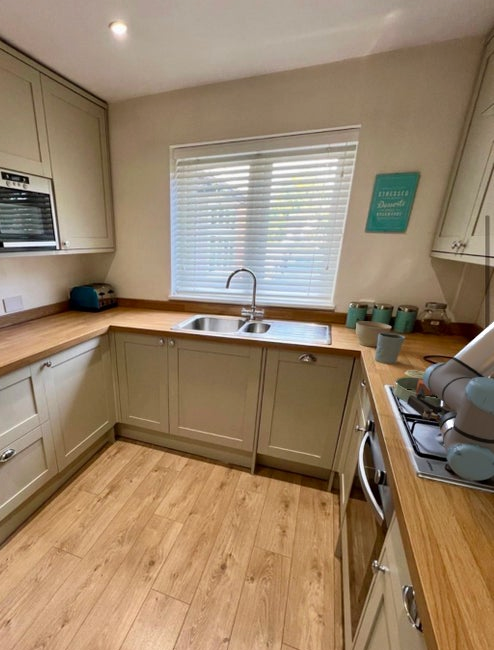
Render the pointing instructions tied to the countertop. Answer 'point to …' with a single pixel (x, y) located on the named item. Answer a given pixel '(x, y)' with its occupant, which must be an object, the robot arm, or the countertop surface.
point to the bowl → (403, 393)
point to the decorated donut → (414, 373)
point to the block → (422, 385)
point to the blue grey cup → (388, 347)
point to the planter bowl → (370, 332)
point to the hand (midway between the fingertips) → (449, 398)
